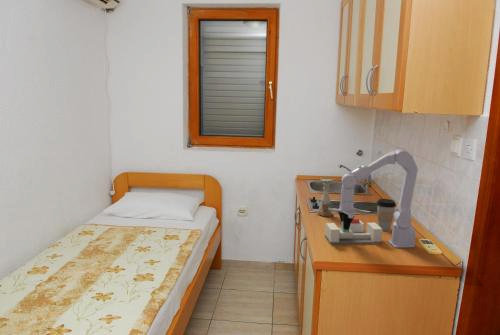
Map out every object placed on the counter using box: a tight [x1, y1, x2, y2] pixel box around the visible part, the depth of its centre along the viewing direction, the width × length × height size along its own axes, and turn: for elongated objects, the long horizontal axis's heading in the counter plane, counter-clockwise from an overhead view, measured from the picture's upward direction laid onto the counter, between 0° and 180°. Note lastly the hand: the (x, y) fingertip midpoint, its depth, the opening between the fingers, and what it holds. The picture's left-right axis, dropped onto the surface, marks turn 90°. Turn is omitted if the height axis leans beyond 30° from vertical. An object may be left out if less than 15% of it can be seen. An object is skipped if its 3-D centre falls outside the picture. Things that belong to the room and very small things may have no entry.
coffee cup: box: [375, 198, 397, 232], centre depth 200 cm, size 9×9×15 cm
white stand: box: [324, 222, 383, 246], centre depth 185 cm, size 24×10×7 cm, turn 94°
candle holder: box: [316, 177, 334, 217], centre depth 222 cm, size 9×9×20 cm
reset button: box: [351, 215, 360, 224], centre depth 197 cm, size 4×4×4 cm
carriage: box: [338, 220, 354, 239], centre depth 185 cm, size 6×7×7 cm
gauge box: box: [349, 219, 365, 233], centre depth 198 cm, size 8×8×5 cm
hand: (345, 228), depth 185 cm, fingers closed on carriage, 3 cm apart
